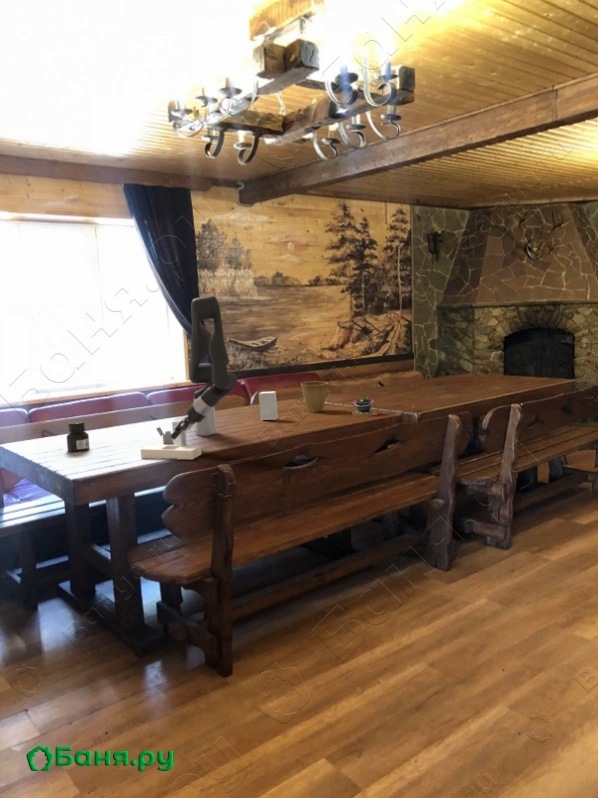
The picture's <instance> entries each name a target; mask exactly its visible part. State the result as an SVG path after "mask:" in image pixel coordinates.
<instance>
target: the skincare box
mask: <svg viewBox="0 0 598 798" xmlns="http://www.w3.org/2000/svg"><path fill="white" fill-rule="evenodd" d="M258 401H259V402H258V403H259V413H260V414H259V415H260V421H261V420H271V419H277V418H279V415H278V414H279V413H278V402H277V401H278V400H277V392H276V391H275V390H274V391H260V392H259V393H258ZM277 420H278V419H277Z"/></svg>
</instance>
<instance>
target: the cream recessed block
mask: <svg viewBox="0 0 598 798" xmlns="http://www.w3.org/2000/svg"><path fill="white" fill-rule="evenodd" d="M201 455H202V446H201V445H174V444H150V445H149V444H148V445H147V446H145V447H142V448H141V449H140V458H141V459H160V458H177V459H176V460H190V461H191V460H194V459H196V458H198V457H199V456H201Z"/></svg>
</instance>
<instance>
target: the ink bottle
mask: <svg viewBox="0 0 598 798" xmlns="http://www.w3.org/2000/svg"><path fill="white" fill-rule="evenodd" d="M67 426H68V432H69V433H68V434H67V435H66V444H67V445H66V447H67V451H68V452H71V453H72V452H73V453H79V451H81V452H85V451H88V450H90V436H89V433H88V432H87V431H86V421H84V420H77V421H75V420H74V421H70V422H68V423H67Z"/></svg>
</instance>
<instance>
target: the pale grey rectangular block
mask: <svg viewBox="0 0 598 798" xmlns="http://www.w3.org/2000/svg"><path fill="white" fill-rule="evenodd" d="M181 421H183V419H177V420H174V421H172V422H171V423H172V433H174V432H175V430H174V429H175V428H176V427H177V426H178V424H179V423H180V422H181ZM184 428H185V427H184ZM179 430H180V429H179ZM173 445H187V431H186V430H183V431H182V432H181V434H179V435H178V437H177V438H176V439H173Z"/></svg>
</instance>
